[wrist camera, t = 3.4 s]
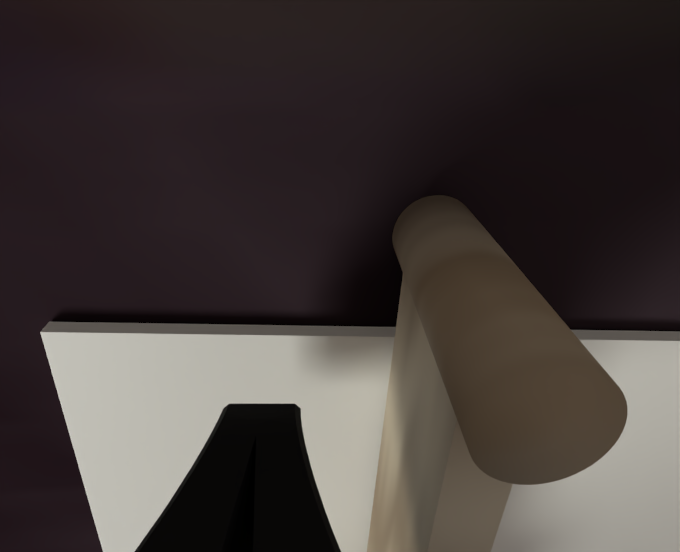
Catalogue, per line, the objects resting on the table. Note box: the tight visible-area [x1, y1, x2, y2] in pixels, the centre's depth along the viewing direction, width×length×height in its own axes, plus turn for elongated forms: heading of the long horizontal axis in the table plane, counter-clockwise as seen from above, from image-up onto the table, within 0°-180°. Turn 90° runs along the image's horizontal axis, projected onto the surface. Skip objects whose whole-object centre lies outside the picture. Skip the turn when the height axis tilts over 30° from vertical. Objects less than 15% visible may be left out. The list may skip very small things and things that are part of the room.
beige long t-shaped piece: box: [367, 195, 627, 552], centre depth 9 cm, size 12×2×5 cm, turn 177°
